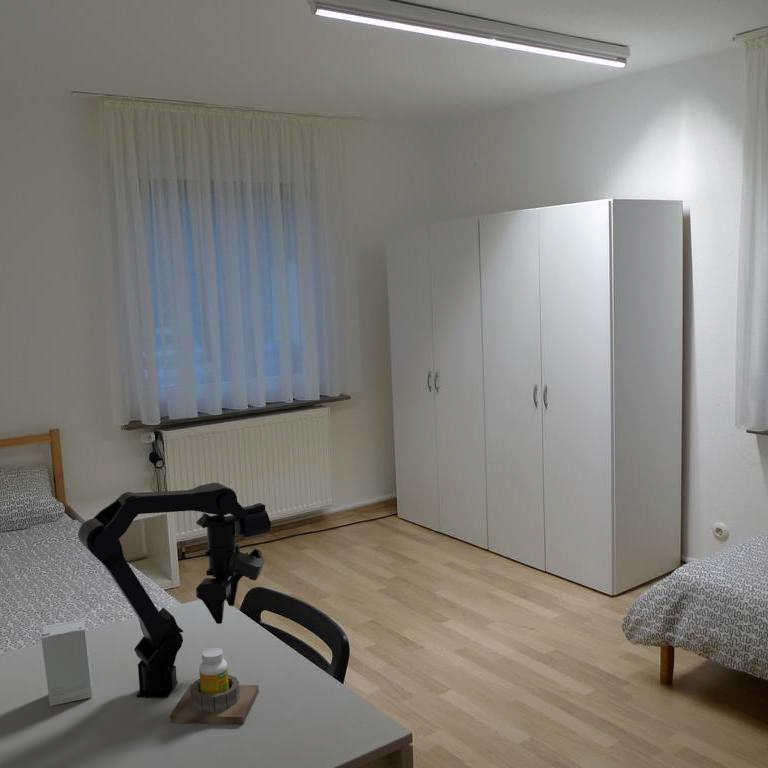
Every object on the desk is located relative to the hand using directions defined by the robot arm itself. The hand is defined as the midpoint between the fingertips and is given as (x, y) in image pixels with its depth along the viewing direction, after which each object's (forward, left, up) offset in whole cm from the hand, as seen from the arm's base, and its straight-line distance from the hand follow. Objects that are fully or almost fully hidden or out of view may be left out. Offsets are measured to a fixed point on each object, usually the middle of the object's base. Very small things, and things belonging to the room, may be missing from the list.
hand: (225, 614), depth 172 cm
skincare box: (-29, -13, -12) cm, 34 cm away
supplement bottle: (+2, -16, -11) cm, 19 cm away
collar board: (+2, -16, -12) cm, 20 cm away
